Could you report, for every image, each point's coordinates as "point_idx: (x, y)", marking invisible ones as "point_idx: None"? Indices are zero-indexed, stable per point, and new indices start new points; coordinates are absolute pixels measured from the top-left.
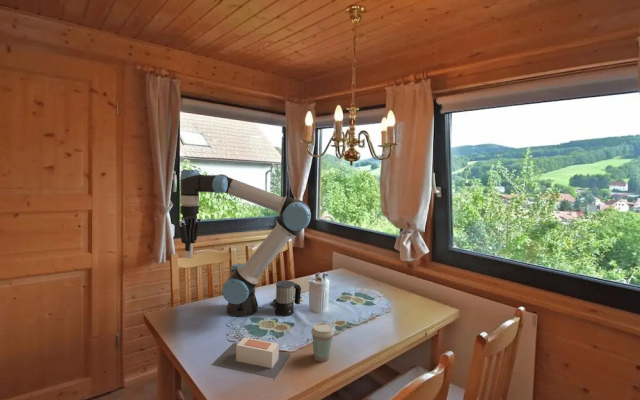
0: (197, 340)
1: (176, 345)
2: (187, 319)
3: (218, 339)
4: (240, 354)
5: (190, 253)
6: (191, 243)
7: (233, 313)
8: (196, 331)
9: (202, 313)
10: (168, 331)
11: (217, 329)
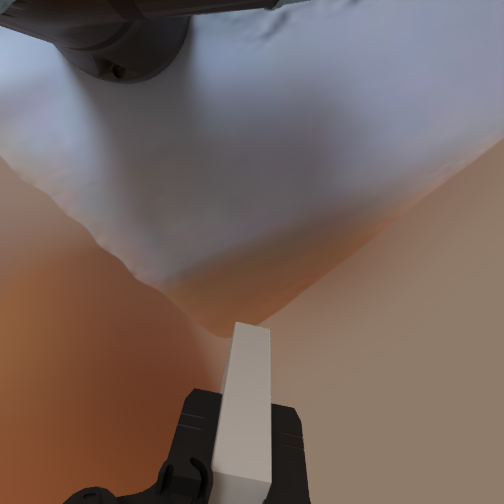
0: (405, 107)
1: (437, 166)
2: (247, 209)
3: (400, 22)
4: None
5: (268, 367)
6: (235, 484)
7: (185, 25)
8: (337, 139)
9: (189, 175)
10: (341, 233)
11: (316, 59)
